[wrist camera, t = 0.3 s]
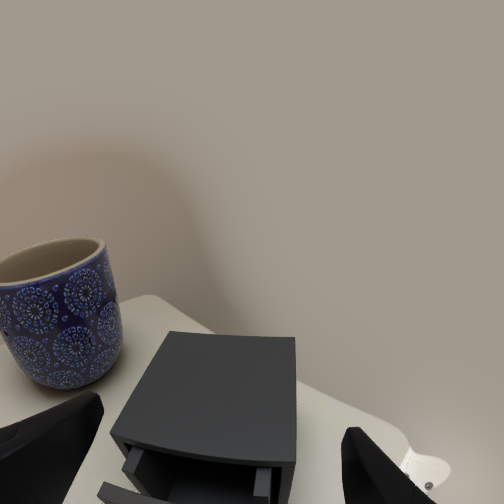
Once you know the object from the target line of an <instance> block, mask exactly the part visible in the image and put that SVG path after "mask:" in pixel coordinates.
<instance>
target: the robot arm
mask: <svg viewBox="0 0 504 504" xmlns="http://www.w3.org/2000/svg"><path fill="white" fill-rule="evenodd" d="M103 415H104V407H103V404H102V401H101V399H100V396H99V395H98V394H97V393H94V392H91V391H89V392H86V393H84V394H82V395H80V396H77V397H75V398H73V399H71V400H68V401H66V402H64V403H62V404H59V405H57V406H55V407H53V408H50V409H48V410H46V411H43V412H41V413H39V414H36V415H34V416H31V417H29V418H27V419H24V420H22V421H20V422H17V423H14V424H12V425H9V426H6V427H3V428H0V504H62V503H63V501H64V499H65V497H66V495H67V493H68V491H69V489H70V486H71V484H72V482H73V480H74V478H75V476H76V474H77V472H78V470H79V468H80V466H81V464H82V462H83V461H84V459H85V457H86V455H87V453H88V451H89V449H90V447H91V445H92V443H93V440H94V438H95V435H96V433H97V430H98V427H99V425H100V422H101V420H102V417H103ZM341 456H342V484H343V491H344V497H345V504H436V503H435V502H434V501H432V500H431V499H430V498H429V497H428V496H427V495H426V494H425V493H424V492H422V491H421V490H420V489H419V488H418V487H417V486H415V484H414V483H413V482H412V481H411V480H410V479H409V478H408V477H407V476H406V475H405V474H404V473H403V472H402V471H401V470H400V469H399V468H398V467H397V466H396V465H395V464H394V463H393V462H392V460H391V459H390V458H389V457H388V456H387V455H386V454H385V453H384V452H383V451H382V450H381V449H380V448H379V447H378V446H377V445H376V444H375V443H374V442H373V441H372V440H371V439H370V438H369V436H368V435H367V434H366V433H365V432H364V431H363V430H362V429H361V428H360V427H349V428H347V430H346V432H345V435H344V437H343V440H342V443H341Z"/></svg>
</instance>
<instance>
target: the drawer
mask: <svg viewBox="0 0 504 504" xmlns="http://www.w3.org/2000/svg"><path fill="white" fill-rule="evenodd" d="M122 471H123V472H124V474H125V475H126V476H127V477H128V479H129V480H130V481H131V482H132V483H133V485H134V486H135V487H136V488H137V489H138V491H139V492H140V493H141V494H139V493H135V492H132V491H129V490H126V489H123V488H121V487H118V486H115V485H112V484H110V483H107V482H103V484H102V486H101V488H100V490H99V492H98V494H97V497H98V498H99V499H100V500H101V501H103V502H104V503H105V504H270V501H271V490H272V479H273V467H269V466H250V465H238V464H228V463H220V462H212V461H205V460H198V459H192V458H187V457H181V456H176V455H171V454H167V453H162V452H158V451H154V450H150V449H146V448H142V447H138V446H134V445H133V446H132V449H131V451H130V453H129V455H128V457H127V459H126V461H125V463H124V465H123V467H122Z"/></svg>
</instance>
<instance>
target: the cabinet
mask: <svg viewBox="0 0 504 504" xmlns="http://www.w3.org/2000/svg"><path fill="white" fill-rule="evenodd" d="M295 353H296V352H295V337H259V336H233V335H232V336H231V335H215V334H200V333H187V332H176V331H169V333H168V334H167V336H166V338H165V339H164V341H163V343H162V344H161V346H160V348H159V349H158V351H157V352H156V354H155V356H154V357H153V359H152V361H151V362H150V364H149V366H148V367H147V369H146V371H145V372H144V374H143V376H142V377H141V379H140V381H139V383H138V384H137V386H136V388H135V389H134V391H133V393H132V394H131V396H130V398H129V400H128V401H127V403H126V405H125V406H124V408H123V410H122V412H121V413H120V415H119V417H118V418H117V420H116V422H115V424H114V425H113V427H112V429H111V431H110V435H111V436H112V438H113V439H114V441H115V443H116V444H117V446H118V447H119V449H120V450H121V452H122V453H123V455H124V456H125V458H126V459H127V457H128V455H129V453H130V451H131V449H132V446H133V445H134V446H138V447H142V448H146V449H150V450H154V451H158V452H162V453H167V454H171V455H176V456H181V457H187V458H192V459H198V460H205V461H212V462H220V463H228V464H238V465H250V466H269V467H273V479H272V490H271V501H270V504H288V500H289V495H290V490H291V485H292V480H293V475H294V470H295V465H296V355H295Z"/></svg>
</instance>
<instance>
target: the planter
mask: <svg viewBox="0 0 504 504" xmlns="http://www.w3.org/2000/svg"><path fill="white" fill-rule="evenodd" d="M0 332H1V334H2V337H3V339H4V341H5V343H6V345H7V347H8V349H9V350H10V352H11V354H12V356H13V357H14V359H15V361H16V362H17V364H18V365H19V367H20V368H21V369H22V370H23V371H24V373H25V374H26V375H27V376H28V377H30V378H31V379H33V380H34V381H36V382H37V383H39V384H41V385H44V386H46V387H49V388H54V389H60V390H69V389H75V388H80V387H83V386H86V385H88V384H90V383H92V382H94V381H96V380H98V379H99V378H101V377H102V376H103V375H104V374H105V373H106V372H107V371H108V370H109V369H110V368H111V367H112V365H113V364H114V362H115V361H116V359H117V357H118V355H119V352H120V349H121V345H122V341H123V327H122V321H121V314H120V308H119V303H118V298H117V294H116V289H115V284H114V279H113V274H112V269H111V265H110V260H109V255H108V251H107V246H106V243H105V242H104V241H103V240H102V239H100V238H96V237H90V236H76V237H66V238H60V239H55V240H50V241H46V242H42V243H38V244H35V245H31V246H28V247H26V248H23V249H20V250H18V251H15V252H13V253H11V254H9V255H7V256H5V257H3V258H2V259H0Z"/></svg>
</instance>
